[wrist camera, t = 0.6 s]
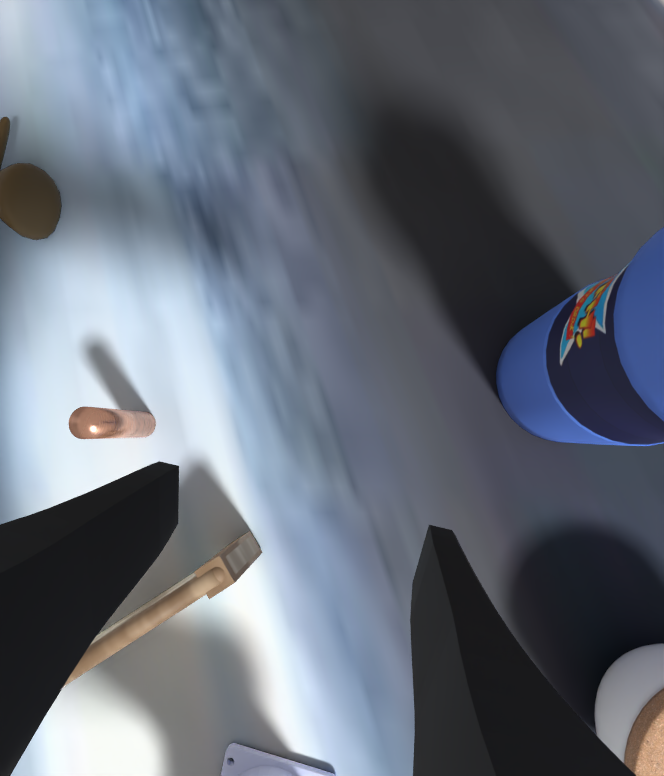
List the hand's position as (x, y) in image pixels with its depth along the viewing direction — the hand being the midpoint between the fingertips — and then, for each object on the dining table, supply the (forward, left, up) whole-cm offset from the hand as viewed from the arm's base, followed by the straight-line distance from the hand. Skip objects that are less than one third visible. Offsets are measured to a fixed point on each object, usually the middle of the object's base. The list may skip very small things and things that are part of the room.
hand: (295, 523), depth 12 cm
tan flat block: (-12, +10, -20) cm, 25 cm away
